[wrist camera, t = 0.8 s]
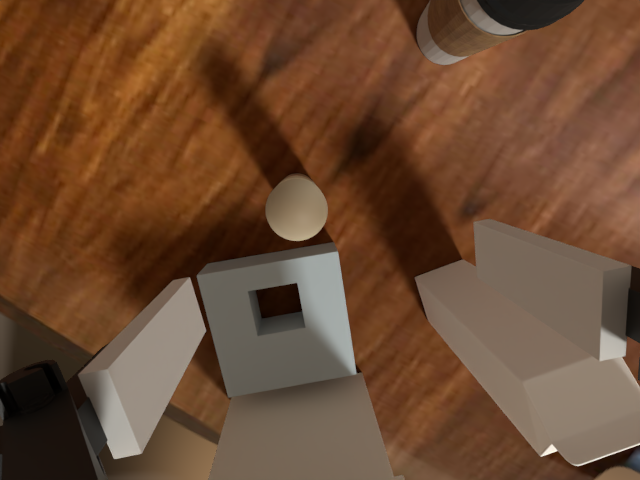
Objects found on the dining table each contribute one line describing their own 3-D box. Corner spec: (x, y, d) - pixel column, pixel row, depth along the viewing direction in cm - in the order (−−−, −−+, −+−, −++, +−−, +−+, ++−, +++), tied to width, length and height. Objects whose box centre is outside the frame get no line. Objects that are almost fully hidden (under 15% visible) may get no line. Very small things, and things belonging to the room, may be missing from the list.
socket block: (207, 263, 36) (196, 275, 32) (333, 242, 36) (337, 251, 32) (235, 374, 39) (228, 397, 35) (350, 353, 40) (356, 374, 36)
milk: (413, 276, 38) (560, 420, 16) (463, 258, 38) (676, 379, 16) (427, 321, 39) (580, 509, 18) (476, 304, 39) (688, 471, 18)
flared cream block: (223, 361, 39) (154, 541, 20) (356, 337, 39) (409, 492, 21) (234, 404, 40) (179, 609, 22) (363, 380, 41) (417, 562, 22)
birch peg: (275, 176, 34) (259, 184, 21) (313, 170, 34) (322, 174, 21) (282, 214, 35) (271, 245, 22) (319, 207, 35) (331, 235, 22)
